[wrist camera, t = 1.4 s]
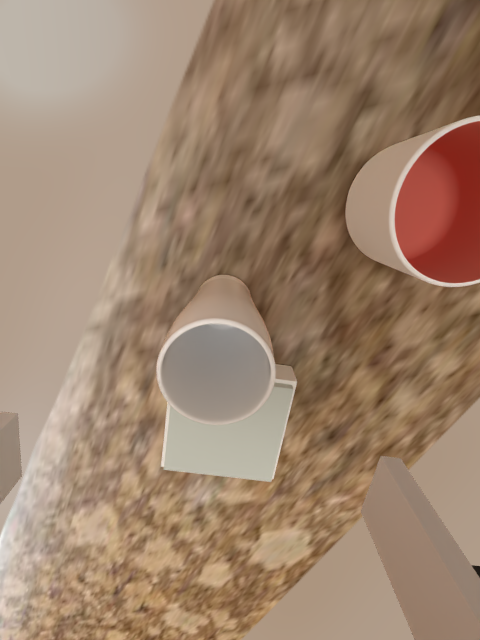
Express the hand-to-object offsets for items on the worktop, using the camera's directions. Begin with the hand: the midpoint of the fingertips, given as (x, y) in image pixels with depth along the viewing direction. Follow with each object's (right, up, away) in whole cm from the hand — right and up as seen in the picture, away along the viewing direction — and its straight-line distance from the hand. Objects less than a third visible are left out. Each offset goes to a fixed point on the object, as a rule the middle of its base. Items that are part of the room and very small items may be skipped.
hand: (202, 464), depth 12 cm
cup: (+15, +16, +18) cm, 28 cm away
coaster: (0, -4, +24) cm, 25 cm away
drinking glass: (0, +7, +20) cm, 22 cm away
